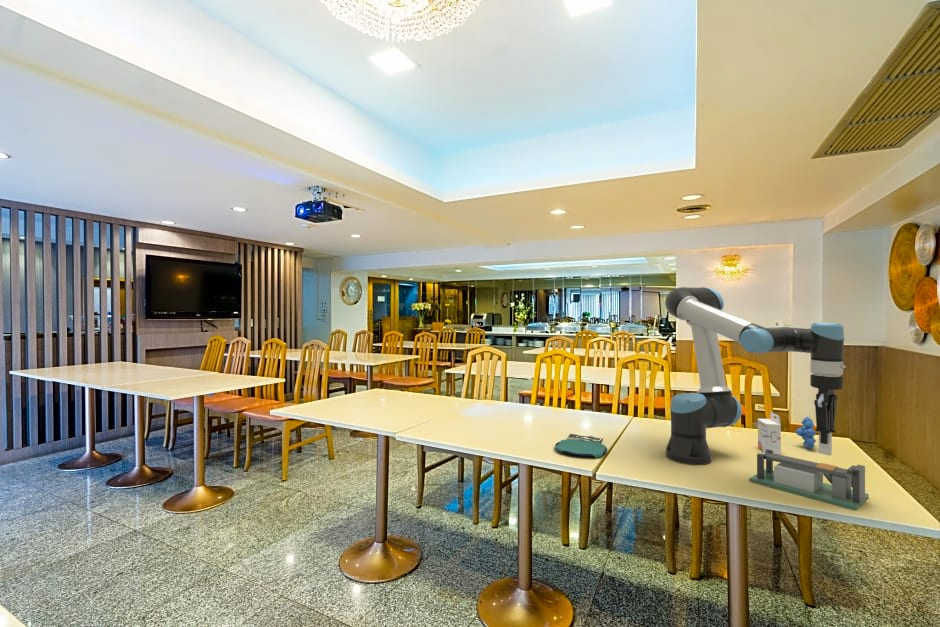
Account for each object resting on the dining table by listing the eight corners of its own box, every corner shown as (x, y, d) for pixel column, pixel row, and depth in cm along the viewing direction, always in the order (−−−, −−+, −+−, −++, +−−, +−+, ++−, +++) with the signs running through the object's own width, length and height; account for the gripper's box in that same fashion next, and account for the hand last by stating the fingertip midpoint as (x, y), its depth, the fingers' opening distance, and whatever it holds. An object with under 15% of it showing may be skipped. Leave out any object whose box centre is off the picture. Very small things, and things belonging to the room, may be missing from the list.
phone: (832, 482, 137) (819, 467, 150) (832, 486, 137) (819, 470, 150) (864, 486, 133) (848, 470, 147) (864, 490, 133) (848, 474, 147)
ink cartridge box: (756, 447, 175) (756, 410, 175) (770, 448, 174) (770, 411, 174) (766, 454, 166) (766, 415, 166) (781, 455, 165) (781, 416, 165)
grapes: (792, 442, 181) (792, 413, 181) (812, 444, 178) (812, 415, 178) (797, 450, 171) (797, 419, 171) (819, 452, 168) (819, 421, 168)
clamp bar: (758, 458, 141) (758, 453, 141) (764, 455, 144) (764, 450, 144) (846, 478, 124) (846, 472, 124) (850, 474, 127) (850, 468, 127)
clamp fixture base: (749, 481, 140) (749, 450, 140) (766, 471, 148) (766, 442, 148) (855, 510, 119) (855, 473, 119) (868, 497, 127) (868, 463, 127)
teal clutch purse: (549, 455, 166) (549, 449, 166) (565, 436, 194) (565, 431, 194) (604, 462, 158) (604, 456, 158) (612, 441, 186) (612, 436, 186)
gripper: (836, 378, 122) (834, 462, 123) (848, 374, 130) (847, 452, 131) (803, 375, 128) (802, 454, 129) (817, 371, 136) (816, 446, 137)
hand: (825, 453), depth 130 cm, fingers closed
